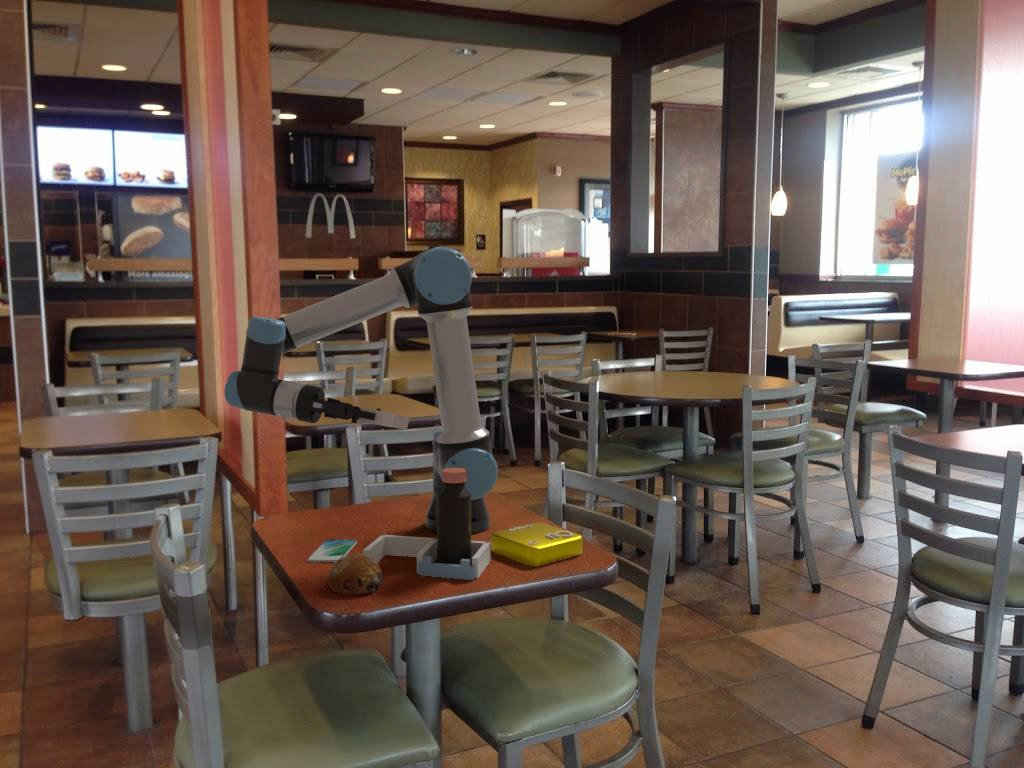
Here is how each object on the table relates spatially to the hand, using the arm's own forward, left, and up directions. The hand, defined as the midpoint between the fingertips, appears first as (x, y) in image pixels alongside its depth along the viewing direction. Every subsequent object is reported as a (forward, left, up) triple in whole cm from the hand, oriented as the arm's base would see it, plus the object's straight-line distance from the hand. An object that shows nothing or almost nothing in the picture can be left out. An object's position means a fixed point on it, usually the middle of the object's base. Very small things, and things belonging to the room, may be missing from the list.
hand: (400, 422), depth 180 cm
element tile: (-13, +26, -30) cm, 41 cm away
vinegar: (+1, +12, -29) cm, 31 cm away
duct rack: (+2, +6, -29) cm, 30 cm away
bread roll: (+16, -3, -29) cm, 34 cm away
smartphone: (-3, -16, -30) cm, 34 cm away
